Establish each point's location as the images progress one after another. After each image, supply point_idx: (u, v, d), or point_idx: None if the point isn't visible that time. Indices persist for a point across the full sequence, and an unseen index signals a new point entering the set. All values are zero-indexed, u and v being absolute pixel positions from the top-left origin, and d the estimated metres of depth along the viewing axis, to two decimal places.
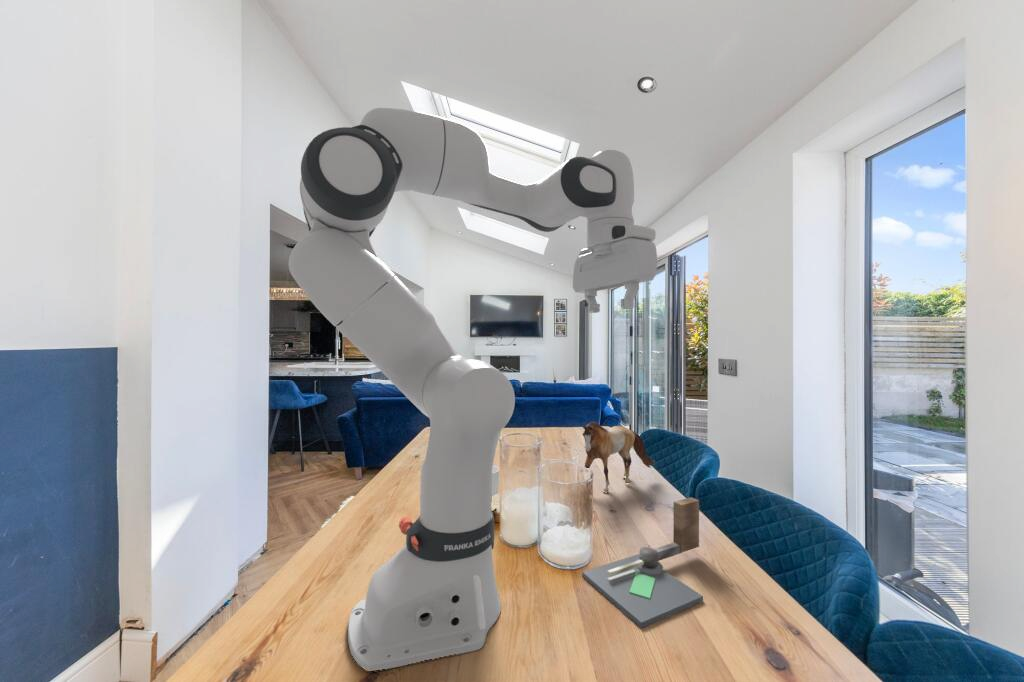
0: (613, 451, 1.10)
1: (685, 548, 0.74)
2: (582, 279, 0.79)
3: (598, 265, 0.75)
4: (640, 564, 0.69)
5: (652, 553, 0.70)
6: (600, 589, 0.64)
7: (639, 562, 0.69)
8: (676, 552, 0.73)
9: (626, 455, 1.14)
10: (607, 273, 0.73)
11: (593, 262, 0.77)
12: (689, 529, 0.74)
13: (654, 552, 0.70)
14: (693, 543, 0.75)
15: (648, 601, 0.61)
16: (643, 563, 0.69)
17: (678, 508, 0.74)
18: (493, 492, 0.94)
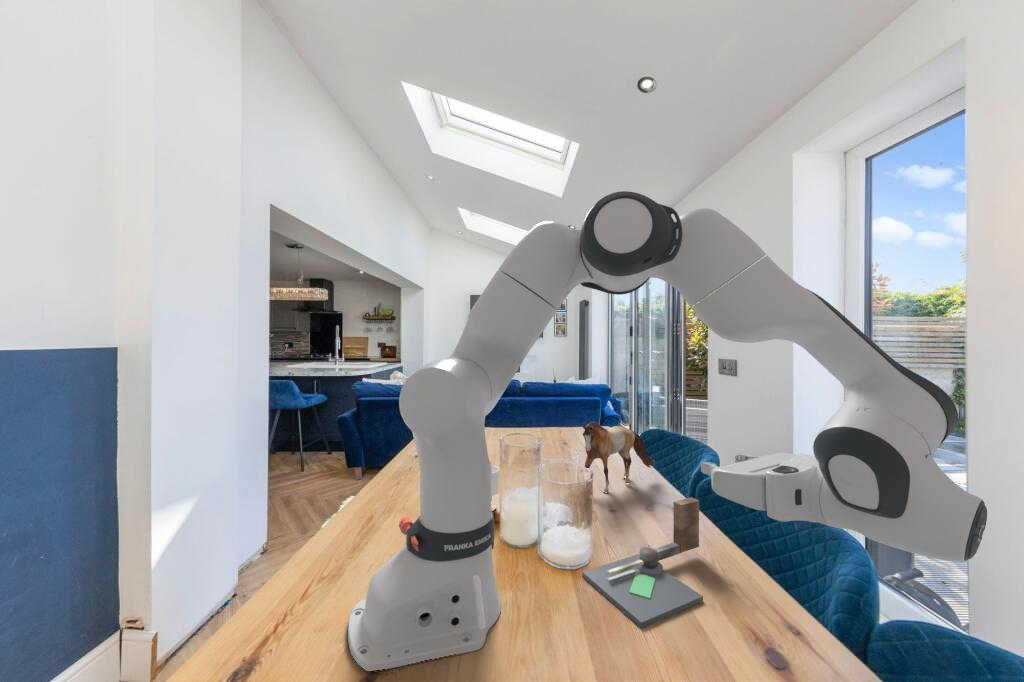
0: (613, 451, 1.10)
1: (685, 548, 0.74)
2: (783, 456, 0.65)
3: None
4: (640, 564, 0.69)
5: (652, 553, 0.70)
6: (600, 589, 0.64)
7: (639, 562, 0.69)
8: (676, 552, 0.73)
9: (626, 455, 1.14)
10: (756, 463, 0.61)
11: None
12: (689, 529, 0.74)
13: (654, 552, 0.70)
14: (693, 543, 0.75)
15: (648, 601, 0.61)
16: (643, 563, 0.69)
17: (678, 508, 0.74)
18: (493, 492, 0.94)
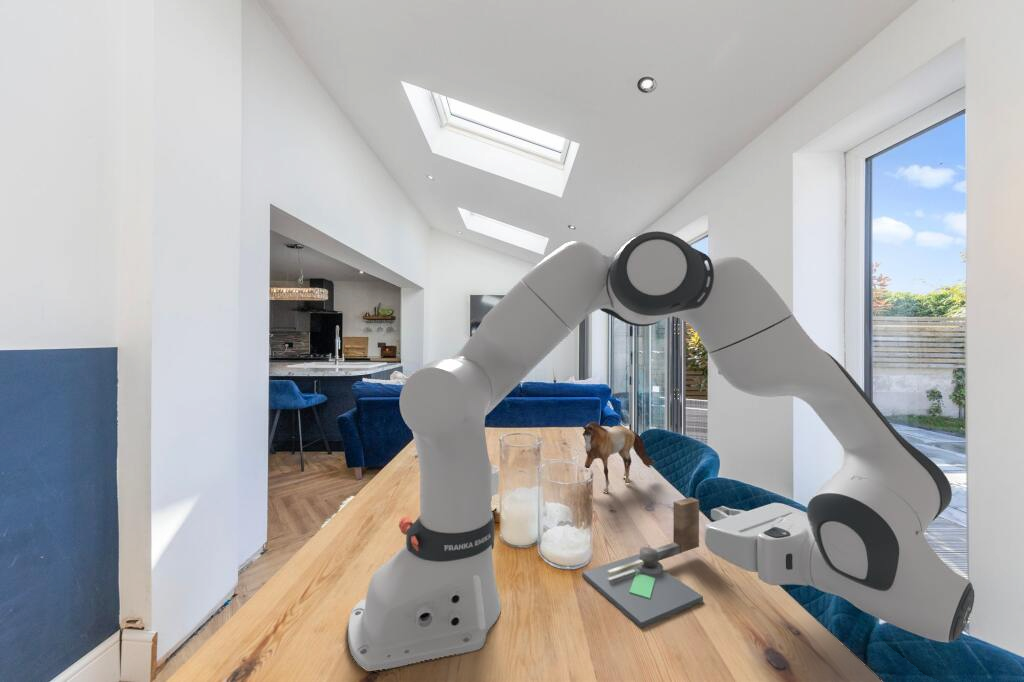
0: (613, 451, 1.10)
1: (685, 548, 0.74)
2: (777, 509, 0.65)
3: (774, 521, 0.61)
4: (640, 564, 0.69)
5: (652, 553, 0.70)
6: (600, 589, 0.64)
7: (639, 562, 0.69)
8: (676, 552, 0.73)
9: (626, 455, 1.14)
10: (750, 518, 0.62)
11: None
12: (689, 529, 0.74)
13: (654, 552, 0.70)
14: (693, 543, 0.75)
15: (648, 601, 0.61)
16: (643, 563, 0.69)
17: (678, 508, 0.74)
18: (493, 492, 0.94)
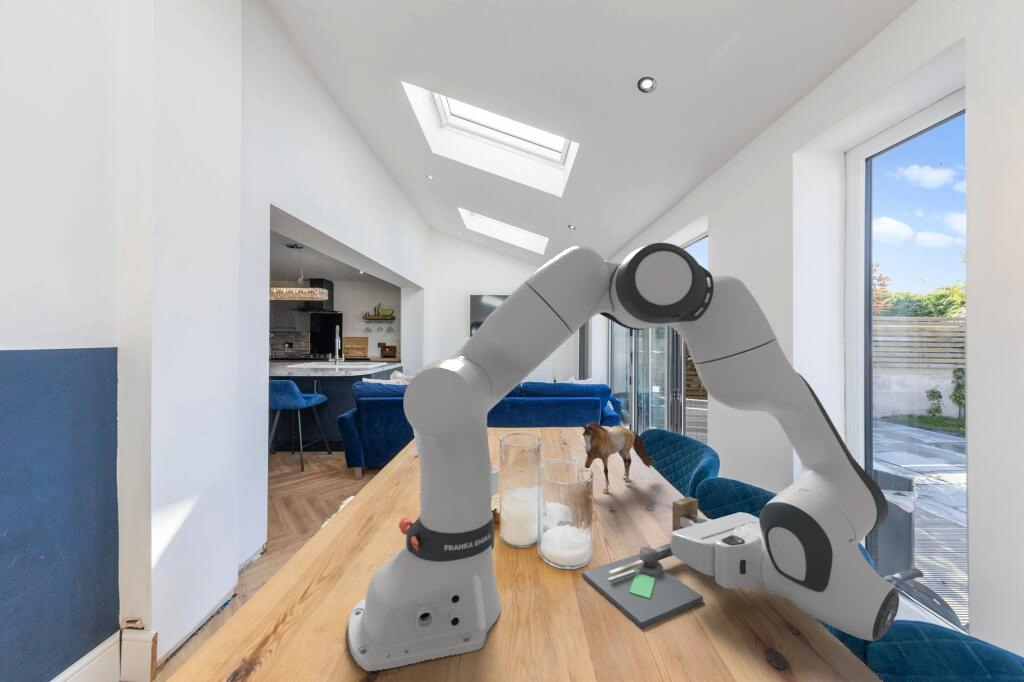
0: (613, 451, 1.10)
1: None
2: (741, 518, 0.71)
3: None
4: (640, 564, 0.69)
5: (652, 553, 0.70)
6: (600, 589, 0.64)
7: (639, 562, 0.69)
8: None
9: (626, 455, 1.14)
10: (714, 526, 0.67)
11: None
12: None
13: (654, 552, 0.70)
14: None
15: (648, 601, 0.61)
16: (643, 563, 0.69)
17: (677, 507, 0.74)
18: (493, 492, 0.94)
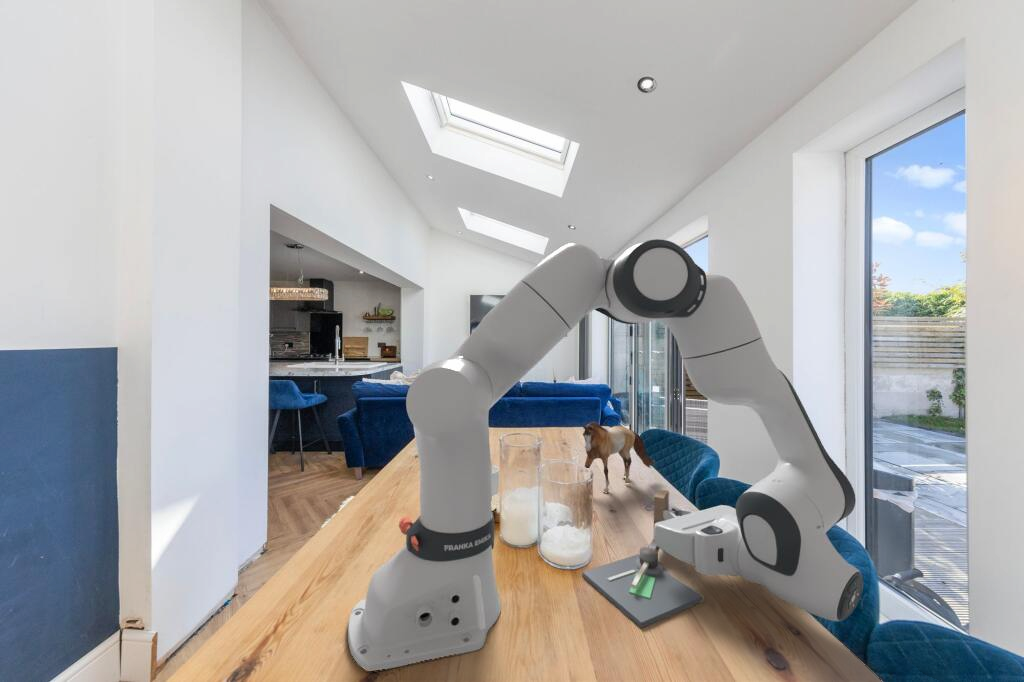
0: (613, 451, 1.10)
1: None
2: (722, 510, 0.74)
3: None
4: (647, 567, 0.68)
5: (653, 552, 0.70)
6: (600, 589, 0.64)
7: (646, 565, 0.68)
8: None
9: (626, 455, 1.14)
10: (695, 518, 0.70)
11: None
12: None
13: (653, 551, 0.71)
14: None
15: (648, 601, 0.61)
16: (648, 565, 0.69)
17: (659, 501, 0.77)
18: (493, 492, 0.94)
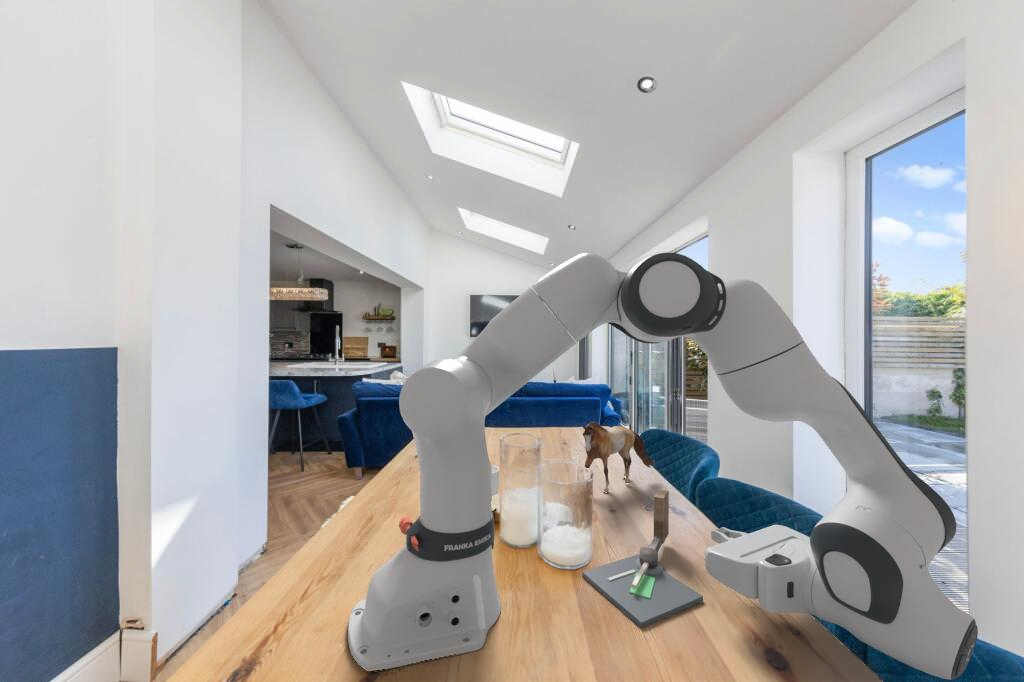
0: (613, 451, 1.10)
1: (664, 538, 0.77)
2: (778, 532, 0.65)
3: (775, 545, 0.61)
4: (647, 567, 0.68)
5: (653, 552, 0.70)
6: (600, 589, 0.64)
7: (646, 565, 0.68)
8: (660, 544, 0.76)
9: (626, 455, 1.14)
10: (751, 542, 0.62)
11: None
12: (665, 519, 0.78)
13: (653, 551, 0.71)
14: (666, 532, 0.79)
15: (648, 601, 0.61)
16: (648, 565, 0.69)
17: (659, 501, 0.77)
18: (493, 492, 0.94)
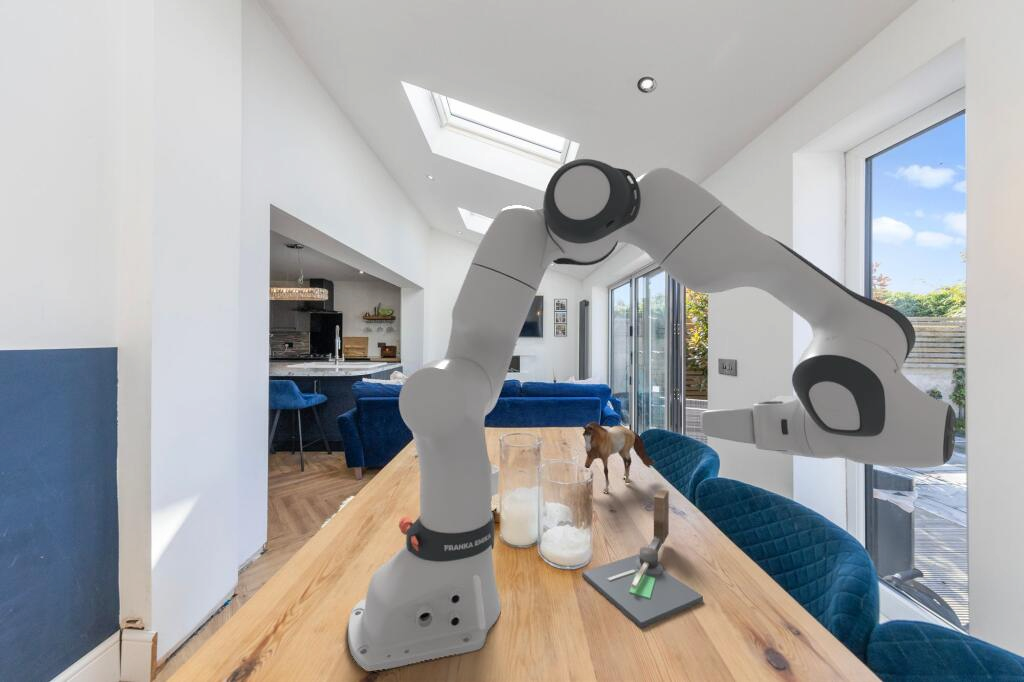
0: (613, 451, 1.10)
1: (664, 538, 0.77)
2: None
3: None
4: (647, 567, 0.68)
5: (653, 552, 0.70)
6: (600, 589, 0.64)
7: (646, 565, 0.68)
8: (660, 544, 0.76)
9: (626, 455, 1.14)
10: None
11: None
12: (665, 519, 0.78)
13: (653, 551, 0.71)
14: (666, 532, 0.79)
15: (648, 601, 0.61)
16: (648, 565, 0.69)
17: (659, 501, 0.77)
18: (493, 492, 0.94)
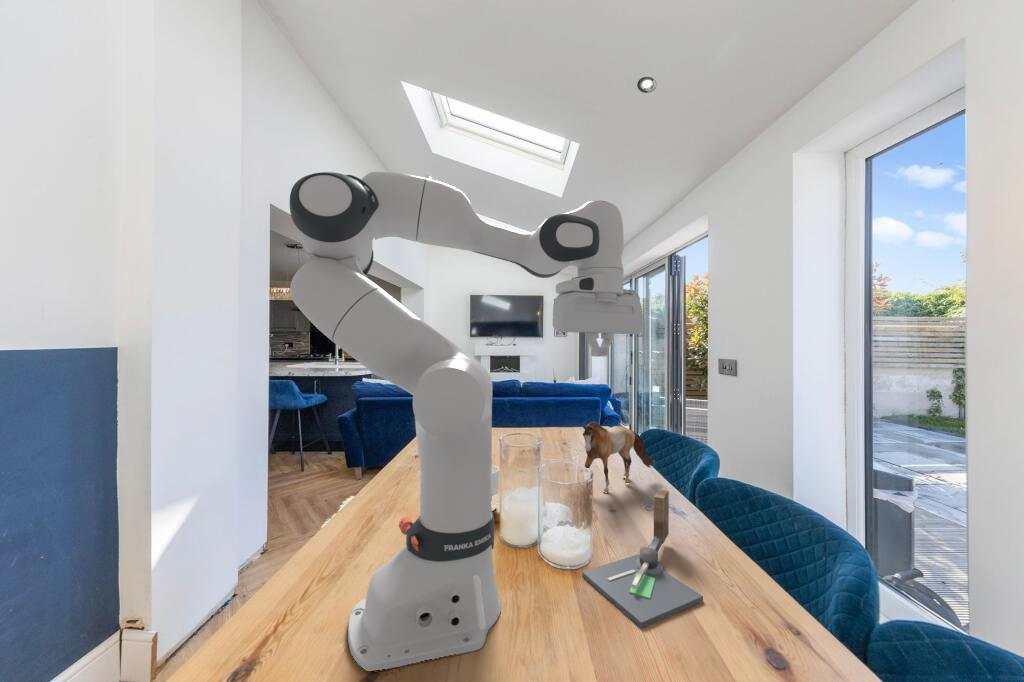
0: (613, 451, 1.10)
1: (664, 538, 0.77)
2: None
3: None
4: (647, 567, 0.68)
5: (653, 552, 0.70)
6: (600, 589, 0.64)
7: (646, 565, 0.68)
8: (660, 544, 0.76)
9: (626, 455, 1.14)
10: None
11: None
12: (665, 519, 0.78)
13: (653, 551, 0.71)
14: (666, 532, 0.79)
15: (648, 601, 0.61)
16: (648, 565, 0.69)
17: (659, 501, 0.77)
18: (493, 492, 0.94)
